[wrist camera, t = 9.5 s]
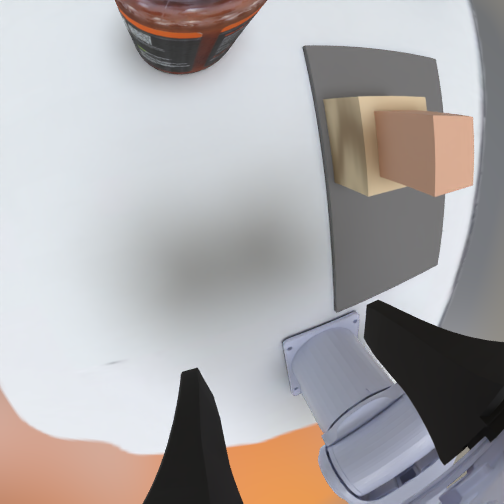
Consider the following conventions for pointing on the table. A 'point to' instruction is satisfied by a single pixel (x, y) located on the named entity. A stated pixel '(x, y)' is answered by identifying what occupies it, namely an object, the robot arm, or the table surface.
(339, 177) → the oak block
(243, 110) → the table surface
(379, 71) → the mat
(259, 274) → the table surface
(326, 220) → the table surface
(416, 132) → the terracotta block
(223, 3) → the supplement bottle
